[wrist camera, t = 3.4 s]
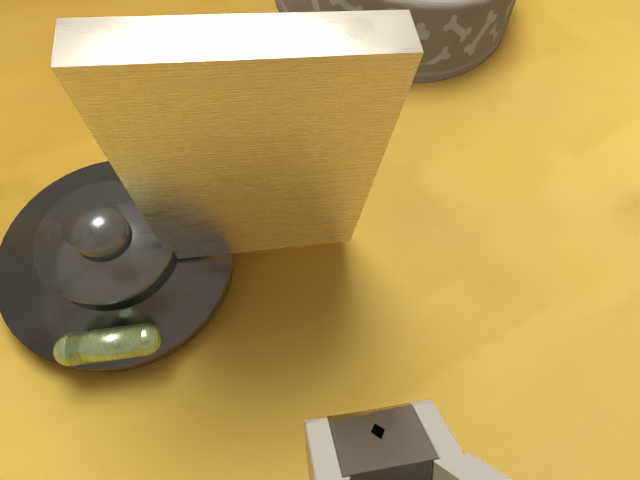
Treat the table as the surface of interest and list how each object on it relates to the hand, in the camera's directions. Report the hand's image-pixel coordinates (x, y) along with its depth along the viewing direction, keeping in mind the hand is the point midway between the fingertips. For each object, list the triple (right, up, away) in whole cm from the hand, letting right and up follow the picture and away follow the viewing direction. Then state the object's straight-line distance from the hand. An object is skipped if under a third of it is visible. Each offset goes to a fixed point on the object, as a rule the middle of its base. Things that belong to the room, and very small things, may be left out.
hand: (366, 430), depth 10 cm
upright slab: (-7, +4, +11) cm, 14 cm away
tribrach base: (-11, +3, +12) cm, 17 cm away
